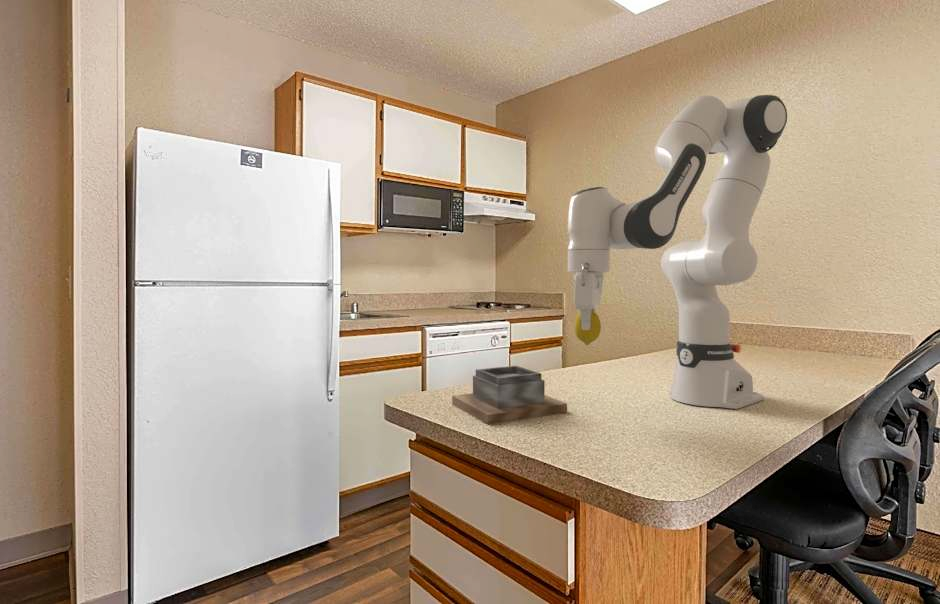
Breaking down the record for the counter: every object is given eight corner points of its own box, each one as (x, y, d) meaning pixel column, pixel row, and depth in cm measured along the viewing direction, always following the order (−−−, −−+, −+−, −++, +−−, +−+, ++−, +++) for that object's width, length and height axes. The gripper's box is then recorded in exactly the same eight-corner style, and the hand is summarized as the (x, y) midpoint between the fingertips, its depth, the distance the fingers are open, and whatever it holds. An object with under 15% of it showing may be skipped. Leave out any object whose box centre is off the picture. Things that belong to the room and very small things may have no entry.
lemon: (595, 347, 104) (596, 309, 103) (570, 345, 107) (570, 308, 106) (603, 344, 108) (604, 308, 108) (579, 342, 112) (580, 307, 111)
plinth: (523, 394, 127) (523, 361, 126) (566, 412, 111) (567, 374, 110) (452, 404, 118) (452, 368, 118) (487, 424, 102) (487, 383, 101)
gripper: (599, 262, 96) (599, 334, 97) (606, 264, 115) (605, 323, 116) (566, 263, 98) (566, 332, 99) (578, 264, 117) (578, 323, 118)
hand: (587, 328), depth 107 cm, fingers closed on lemon, 5 cm apart
